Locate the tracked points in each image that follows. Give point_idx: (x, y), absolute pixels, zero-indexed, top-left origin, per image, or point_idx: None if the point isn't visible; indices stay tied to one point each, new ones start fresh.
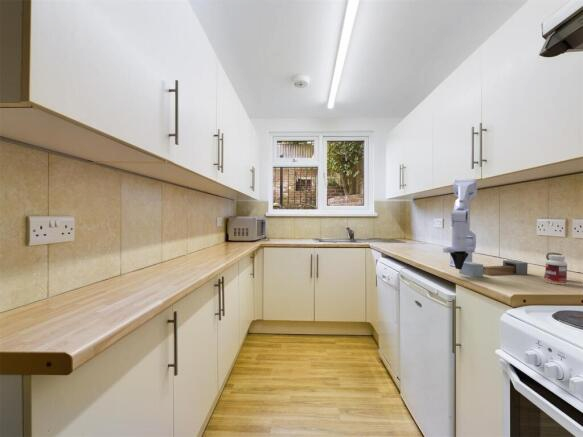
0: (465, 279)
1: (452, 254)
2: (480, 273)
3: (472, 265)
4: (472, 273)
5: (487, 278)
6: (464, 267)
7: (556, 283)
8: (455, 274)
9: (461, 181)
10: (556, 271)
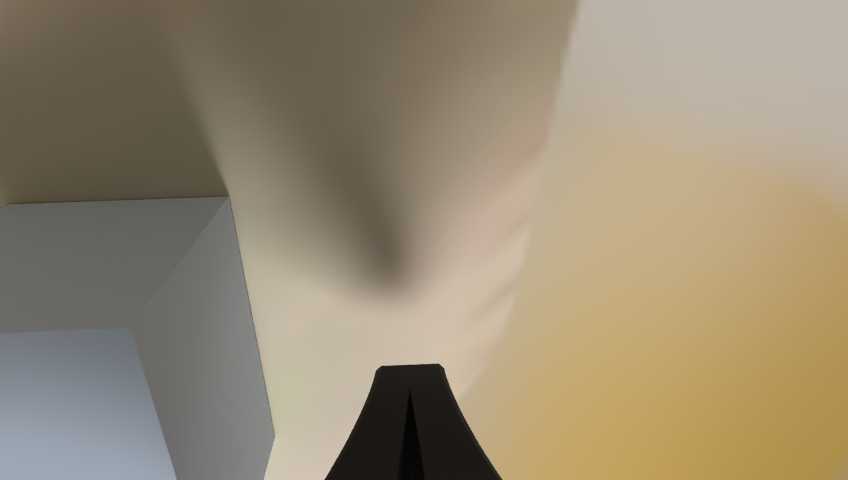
0: (536, 54)
1: None
2: (28, 228)
3: (149, 345)
4: (212, 243)
5: (5, 62)
6: (226, 453)
7: None
8: None
9: None
10: None
